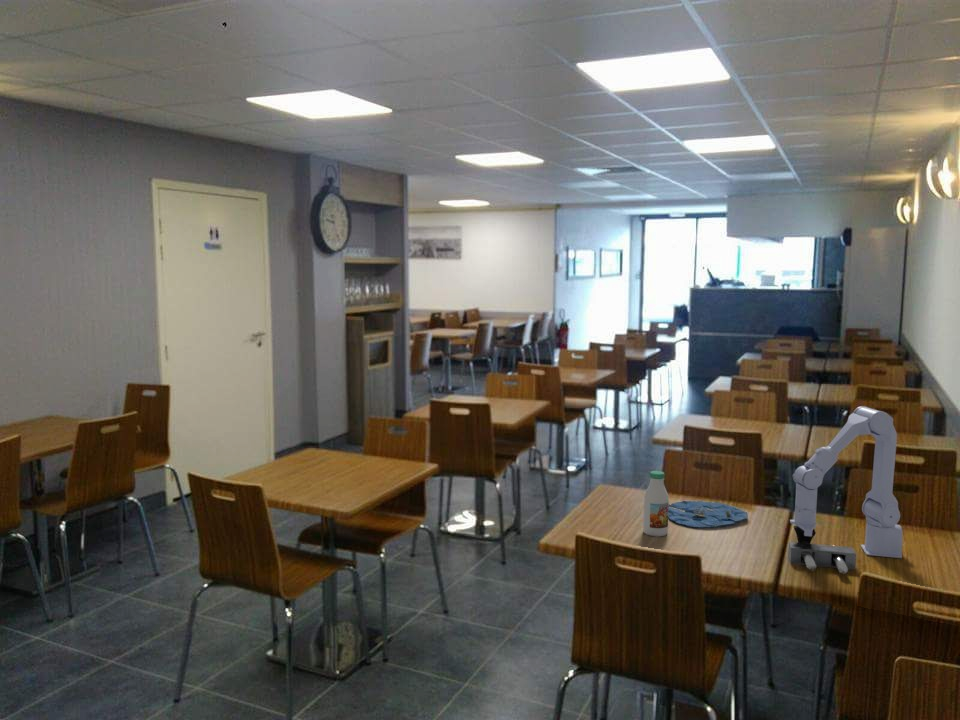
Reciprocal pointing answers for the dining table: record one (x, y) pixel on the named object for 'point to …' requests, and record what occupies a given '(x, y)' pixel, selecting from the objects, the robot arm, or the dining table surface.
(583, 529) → the dining table surface
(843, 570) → the pin
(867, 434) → the robot arm
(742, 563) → the dining table surface
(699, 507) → the decorative plate
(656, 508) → the milk bottle
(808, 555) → the pin
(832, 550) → the block
